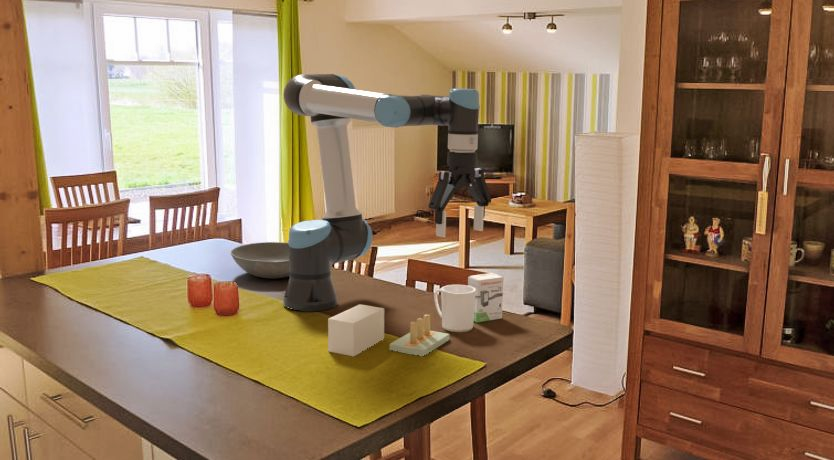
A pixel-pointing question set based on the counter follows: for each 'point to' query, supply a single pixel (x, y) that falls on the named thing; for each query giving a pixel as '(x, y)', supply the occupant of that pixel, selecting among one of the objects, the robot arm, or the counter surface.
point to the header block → (419, 338)
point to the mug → (456, 307)
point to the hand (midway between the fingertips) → (459, 233)
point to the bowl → (263, 259)
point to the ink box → (487, 296)
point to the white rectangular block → (355, 330)
